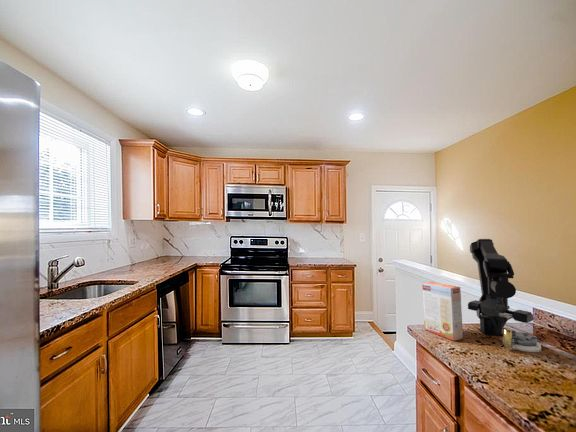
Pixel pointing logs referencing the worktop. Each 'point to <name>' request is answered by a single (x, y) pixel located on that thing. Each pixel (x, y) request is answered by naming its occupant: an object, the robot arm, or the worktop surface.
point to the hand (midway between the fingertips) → (499, 334)
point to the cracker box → (442, 310)
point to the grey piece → (518, 338)
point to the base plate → (527, 347)
